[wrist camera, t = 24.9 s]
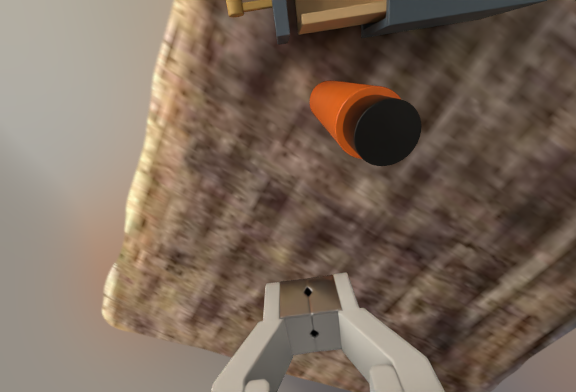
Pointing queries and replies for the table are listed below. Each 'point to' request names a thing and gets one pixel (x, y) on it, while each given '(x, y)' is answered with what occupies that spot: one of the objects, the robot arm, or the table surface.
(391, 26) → the cabinet
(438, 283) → the table surface
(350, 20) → the drawer
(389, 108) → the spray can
